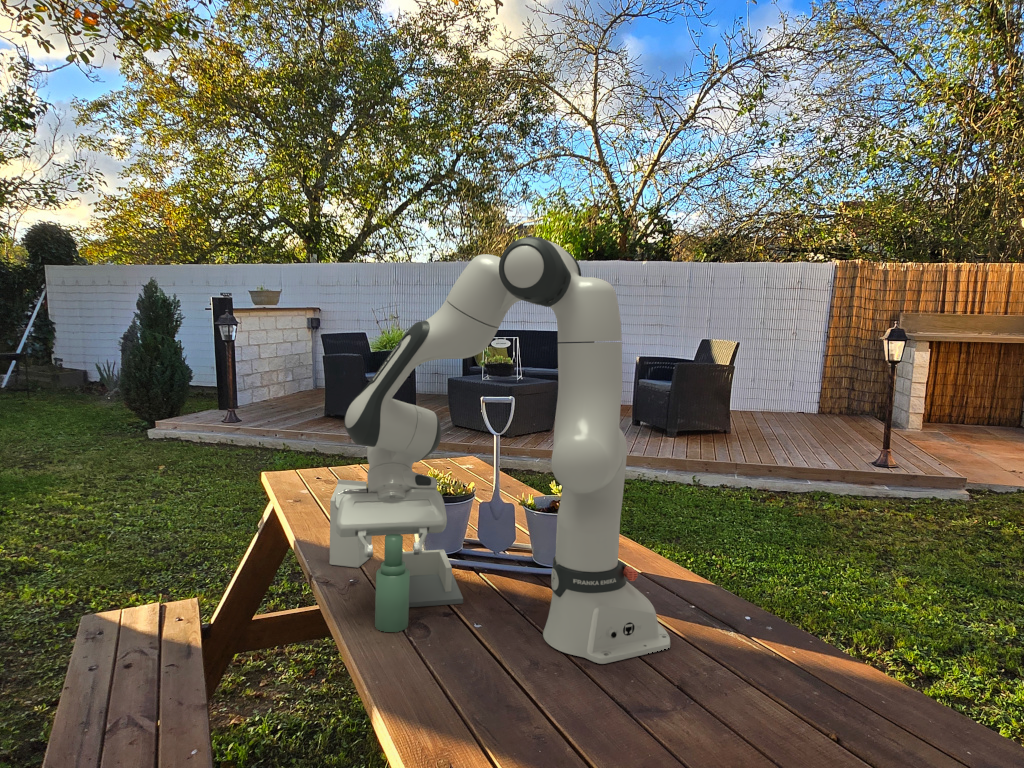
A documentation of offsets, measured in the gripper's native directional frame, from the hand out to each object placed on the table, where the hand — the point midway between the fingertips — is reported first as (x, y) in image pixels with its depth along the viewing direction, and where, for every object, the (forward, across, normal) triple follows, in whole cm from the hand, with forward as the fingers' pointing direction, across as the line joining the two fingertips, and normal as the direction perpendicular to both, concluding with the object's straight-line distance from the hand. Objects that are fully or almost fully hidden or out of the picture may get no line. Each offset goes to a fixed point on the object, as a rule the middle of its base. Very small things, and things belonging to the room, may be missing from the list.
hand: (393, 554), depth 115 cm
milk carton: (-15, -7, +34) cm, 38 cm away
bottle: (+9, 0, +10) cm, 13 cm away
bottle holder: (-2, +7, +21) cm, 22 cm away
